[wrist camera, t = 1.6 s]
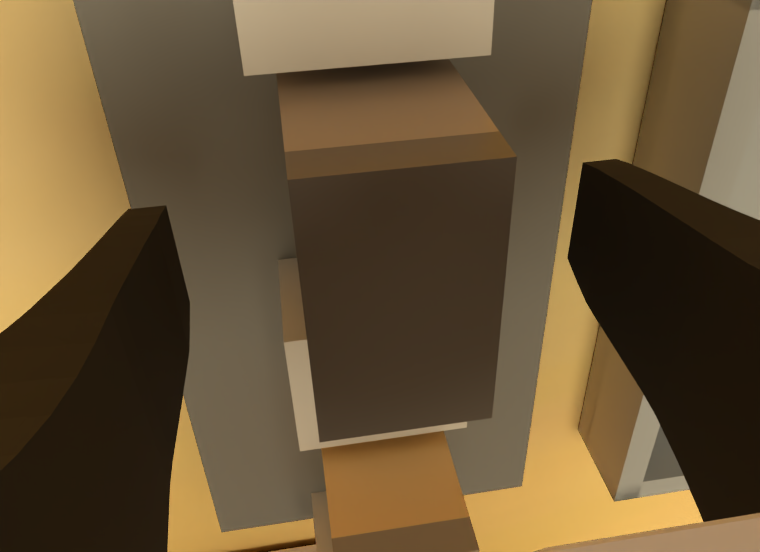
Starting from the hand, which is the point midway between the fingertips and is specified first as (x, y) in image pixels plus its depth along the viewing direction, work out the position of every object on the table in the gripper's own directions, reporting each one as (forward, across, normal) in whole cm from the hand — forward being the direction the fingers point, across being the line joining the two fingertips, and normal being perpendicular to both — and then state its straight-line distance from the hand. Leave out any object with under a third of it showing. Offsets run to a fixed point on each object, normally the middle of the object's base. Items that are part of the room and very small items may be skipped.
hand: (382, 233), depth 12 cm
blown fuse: (+4, 0, 0) cm, 4 cm away
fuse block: (+5, 0, +5) cm, 7 cm away
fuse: (+4, 0, +9) cm, 10 cm away
